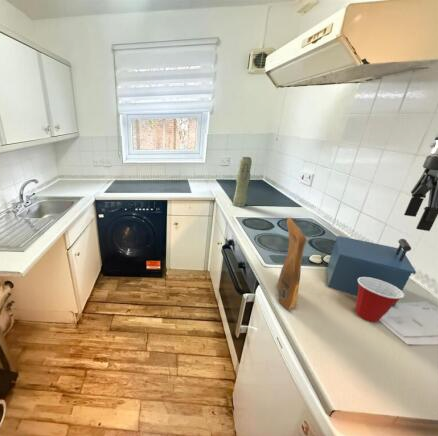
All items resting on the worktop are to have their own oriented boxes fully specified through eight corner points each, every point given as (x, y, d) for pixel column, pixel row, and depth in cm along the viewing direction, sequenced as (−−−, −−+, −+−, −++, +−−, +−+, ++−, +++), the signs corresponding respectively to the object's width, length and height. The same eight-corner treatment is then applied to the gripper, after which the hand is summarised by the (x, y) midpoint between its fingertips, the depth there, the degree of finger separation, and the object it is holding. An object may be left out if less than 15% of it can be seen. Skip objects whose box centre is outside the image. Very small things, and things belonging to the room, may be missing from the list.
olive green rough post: (243, 202, 182) (251, 156, 169) (247, 207, 171) (255, 158, 158) (231, 202, 183) (238, 156, 170) (234, 207, 173) (241, 158, 159)
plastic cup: (388, 314, 78) (403, 284, 74) (389, 334, 71) (406, 303, 66) (347, 298, 85) (358, 270, 80) (344, 316, 78) (356, 286, 73)
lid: (401, 250, 89) (408, 234, 86) (415, 274, 76) (424, 255, 73) (337, 237, 99) (342, 222, 96) (339, 255, 86) (345, 239, 83)
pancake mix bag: (274, 310, 80) (294, 236, 69) (272, 277, 96) (287, 214, 85) (297, 316, 78) (321, 240, 67) (291, 282, 94) (309, 216, 83)
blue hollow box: (384, 280, 95) (398, 250, 89) (394, 306, 81) (411, 273, 76) (327, 265, 104) (337, 237, 99) (328, 286, 91) (339, 256, 86)
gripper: (415, 150, 81) (391, 208, 89) (445, 160, 62) (411, 233, 70) (448, 152, 77) (419, 212, 85) (490, 163, 58) (448, 240, 66)
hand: (415, 222), depth 78 cm, fingers open, 13 cm apart
